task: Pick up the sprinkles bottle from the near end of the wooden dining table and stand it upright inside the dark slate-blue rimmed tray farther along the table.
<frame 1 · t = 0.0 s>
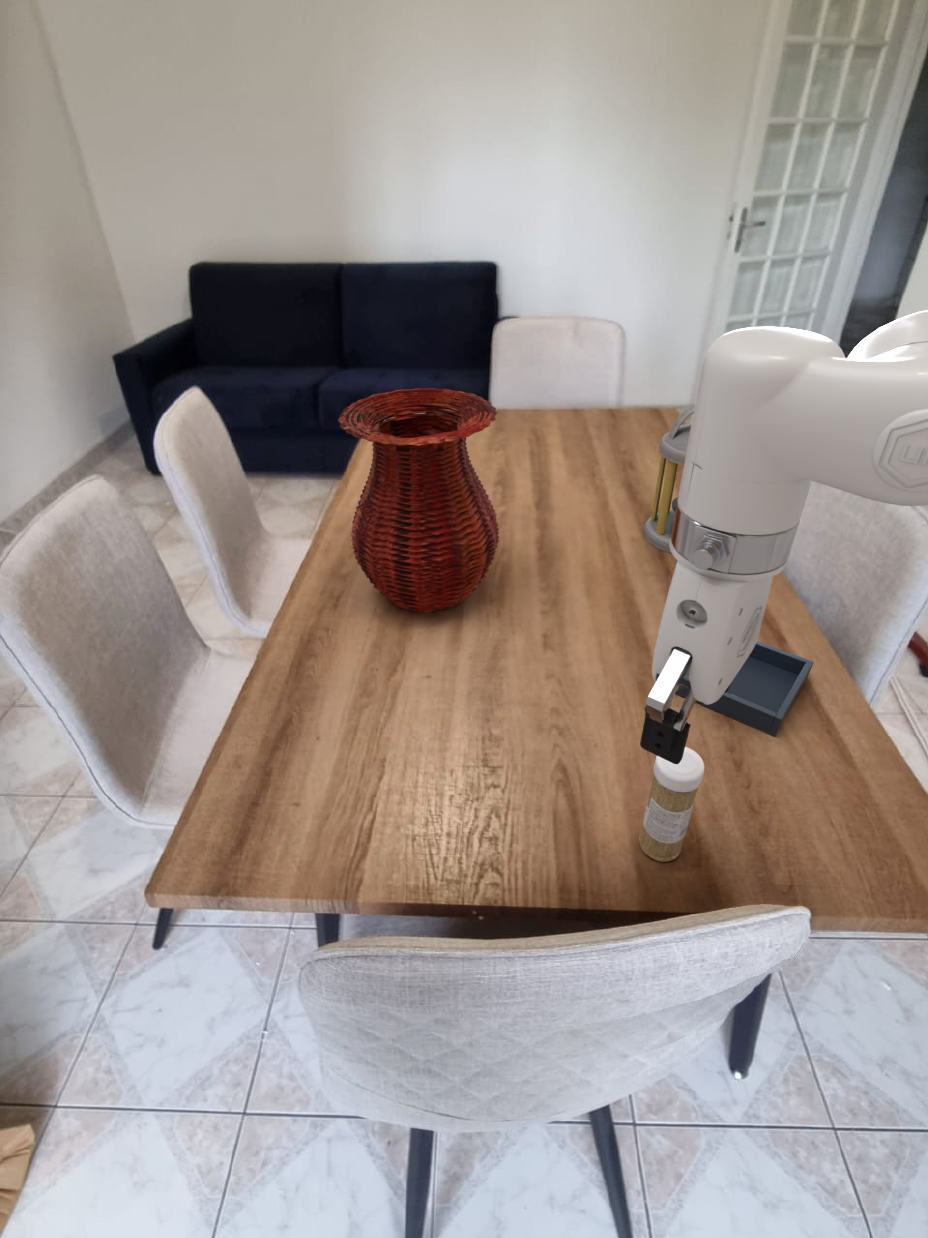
hand: (686, 717, 55), 24 cm above the table, tool pointing down, fingers open, 9 cm apart
sprinkles bottle: (659, 846, 73), on the table
lantern: (682, 536, 125), on the table
vase: (429, 589, 113), on the table
tray: (733, 682, 93), on the table
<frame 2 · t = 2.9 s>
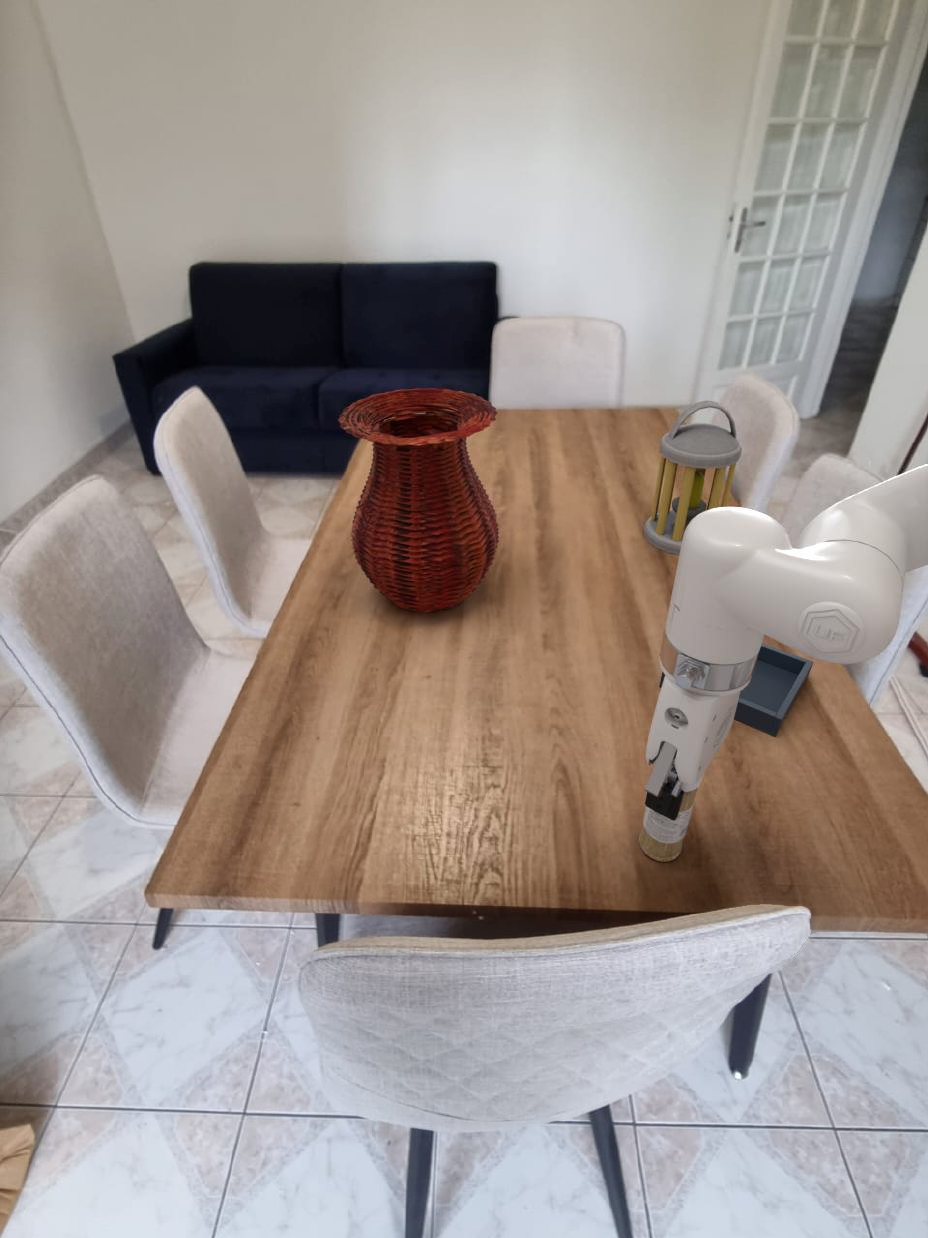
hand: (672, 792, 67), 9 cm above the table, tool pointing down, fingers closed on sprinkles bottle, 4 cm apart
sprinkles bottle: (659, 846, 73), on the table, touching gripper
everything else where it was.
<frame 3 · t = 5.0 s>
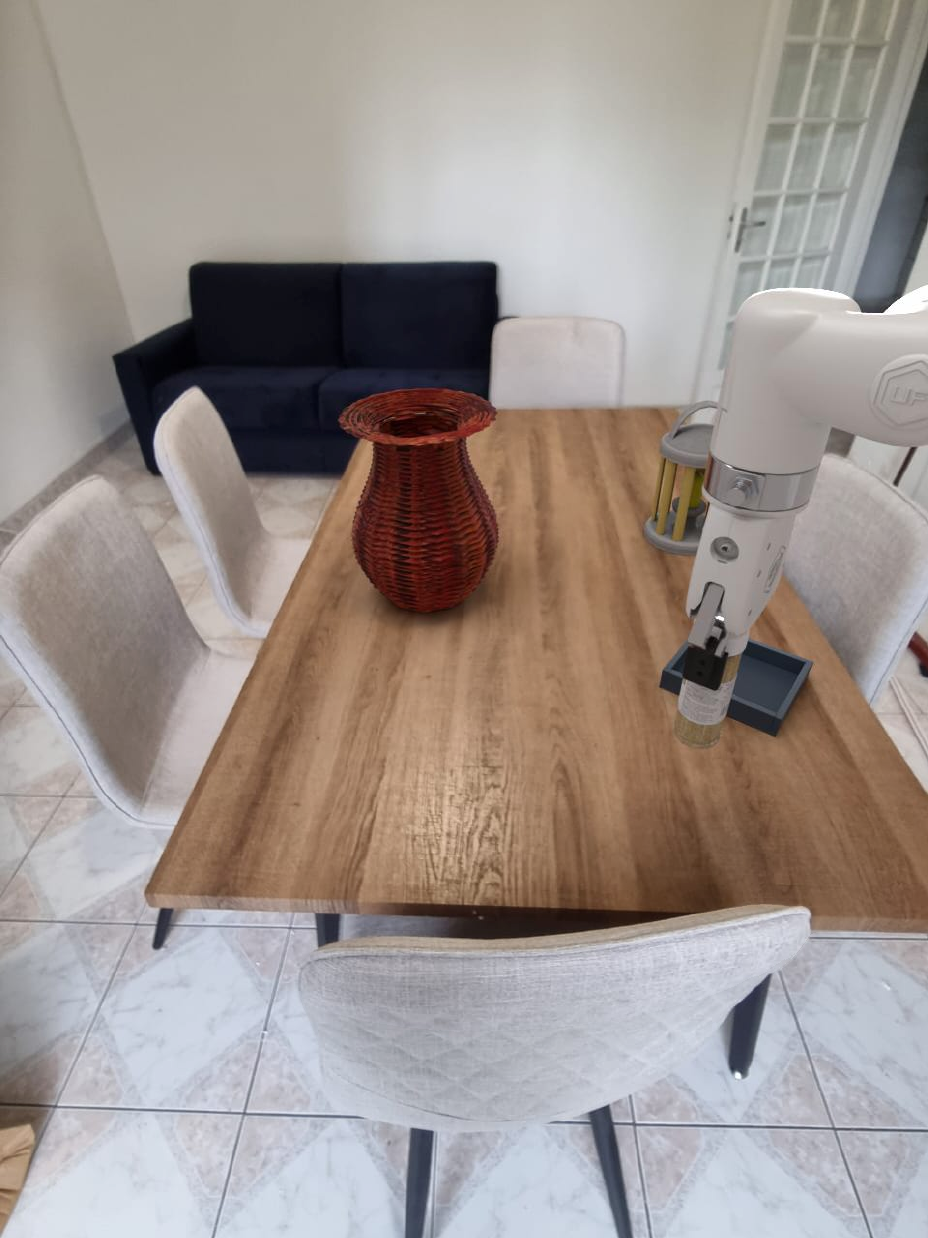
hand: (712, 664, 60), 24 cm above the table, tool pointing down, fingers closed on sprinkles bottle, 4 cm apart
sprinkles bottle: (695, 735, 65), point 15 cm above the table, touching gripper
everything else where it was.
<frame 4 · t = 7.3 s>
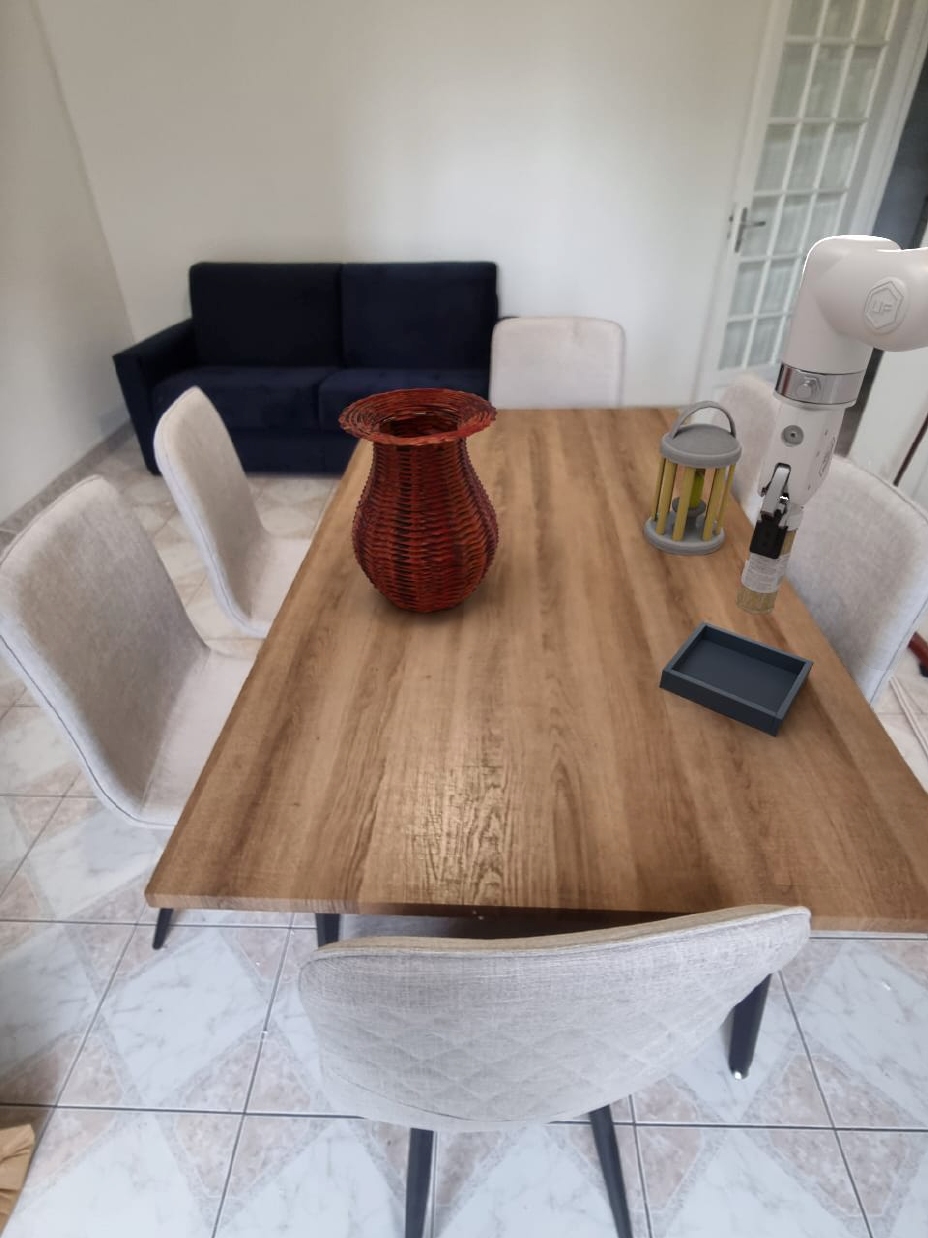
hand: (772, 543, 76), 24 cm above the table, tool pointing down, fingers closed on sprinkles bottle, 4 cm apart
sprinkles bottle: (753, 607, 82), point 15 cm above the table, touching gripper
everything else where it was.
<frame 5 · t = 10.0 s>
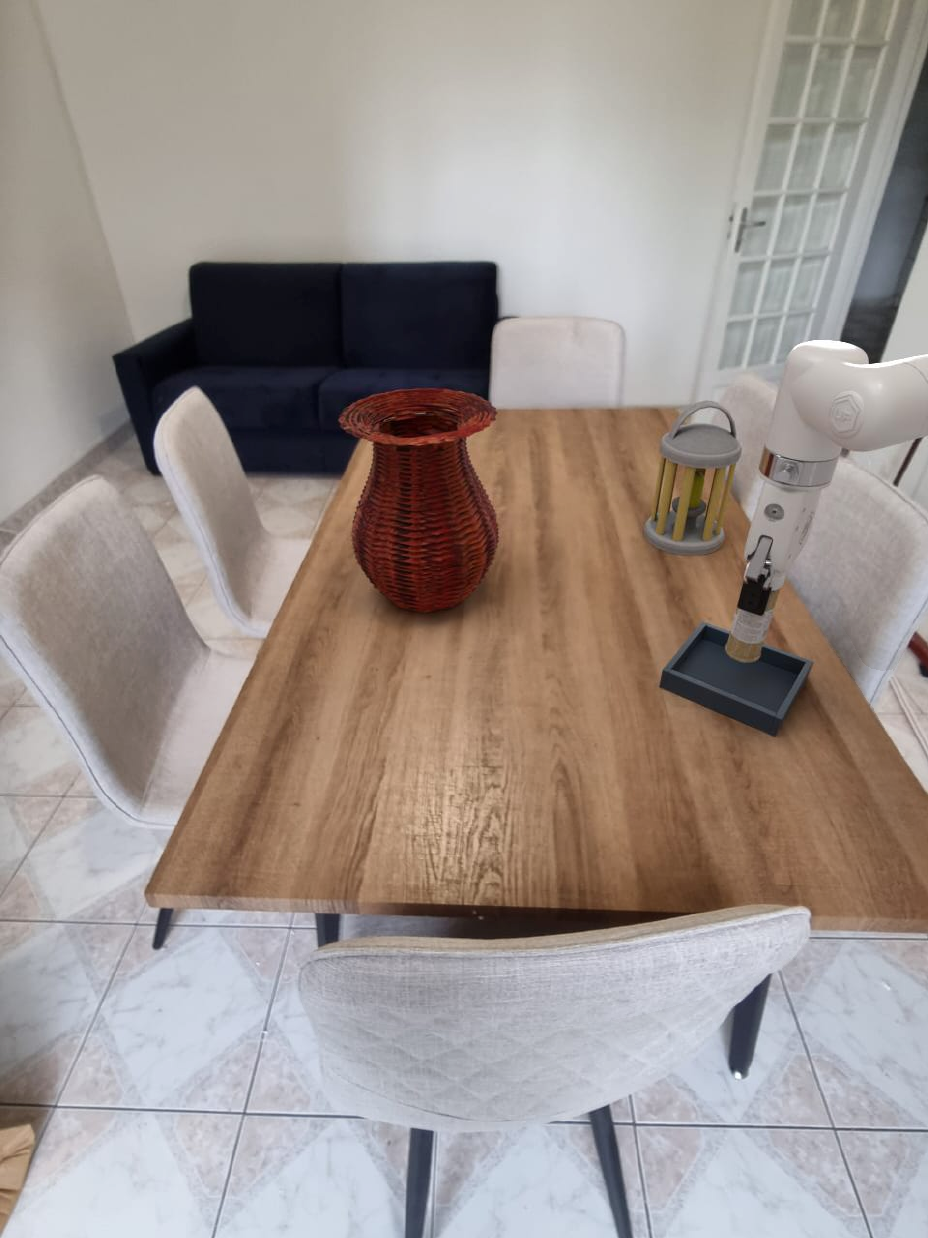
hand: (758, 599, 84), 14 cm above the table, tool pointing down, fingers closed on sprinkles bottle, 4 cm apart
sprinkles bottle: (741, 654, 90), point 5 cm above the table, touching gripper
everything else where it was.
when the fingers open (9 cm above the table, at t = 11.7 s): sprinkles bottle stays where it is, resting on tray.
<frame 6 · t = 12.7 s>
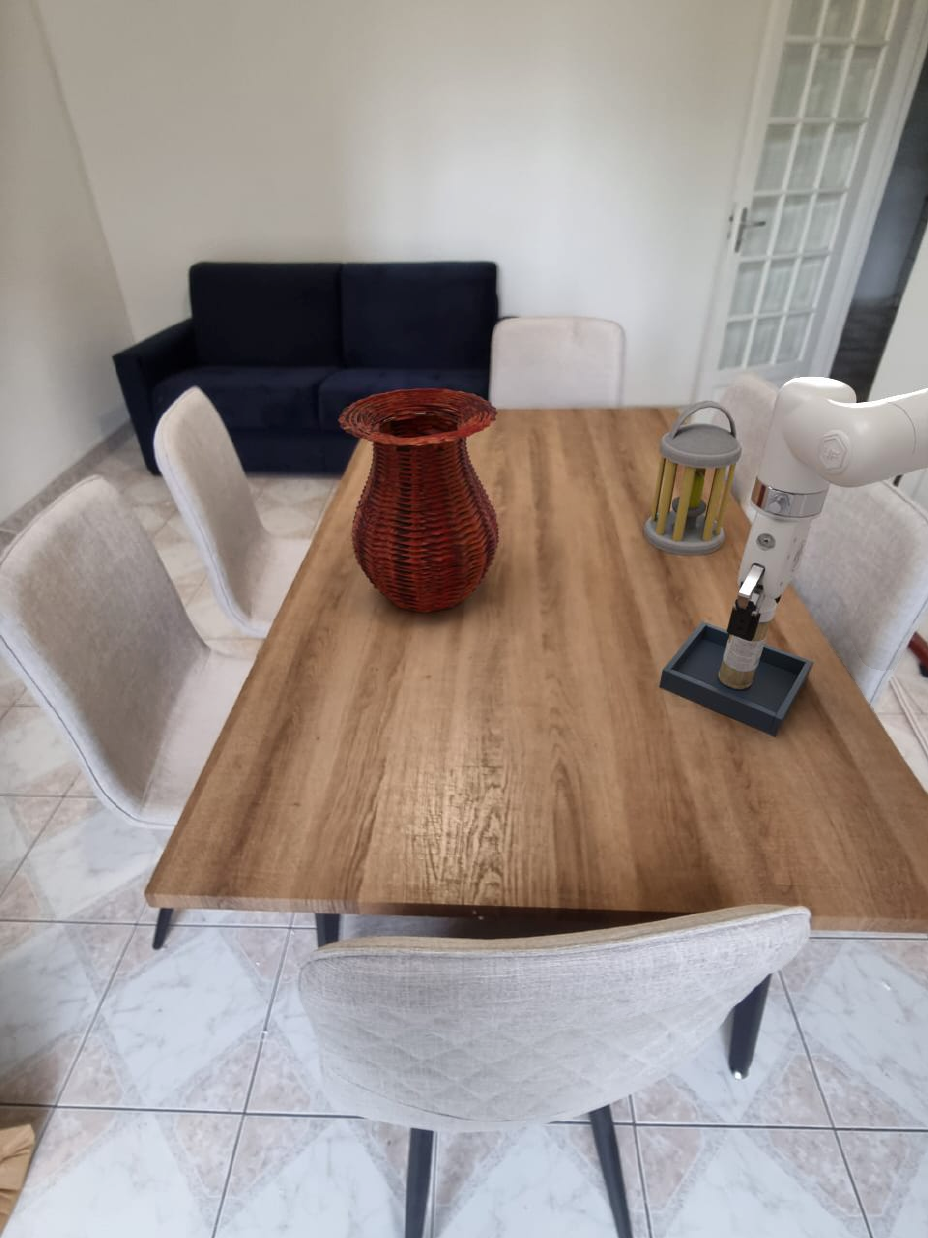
hand: (753, 617, 86), 11 cm above the table, tool pointing down, fingers open, 9 cm apart
sprinkles bottle: (734, 681, 92), resting on tray
everything else where it was.
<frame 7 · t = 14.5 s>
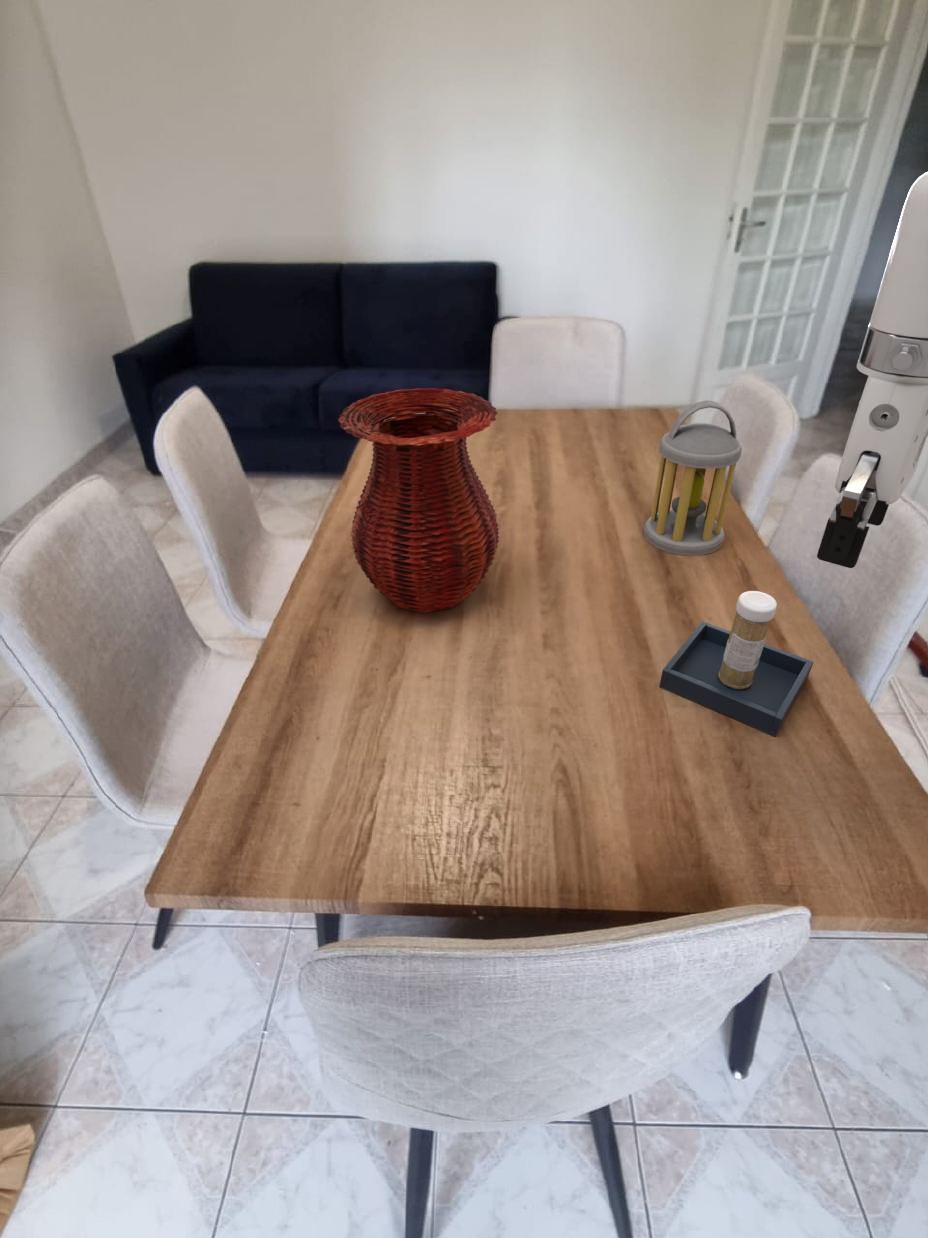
hand: (850, 540, 64), 30 cm above the table, tool pointing down, fingers open, 9 cm apart
nothing on the table moved.
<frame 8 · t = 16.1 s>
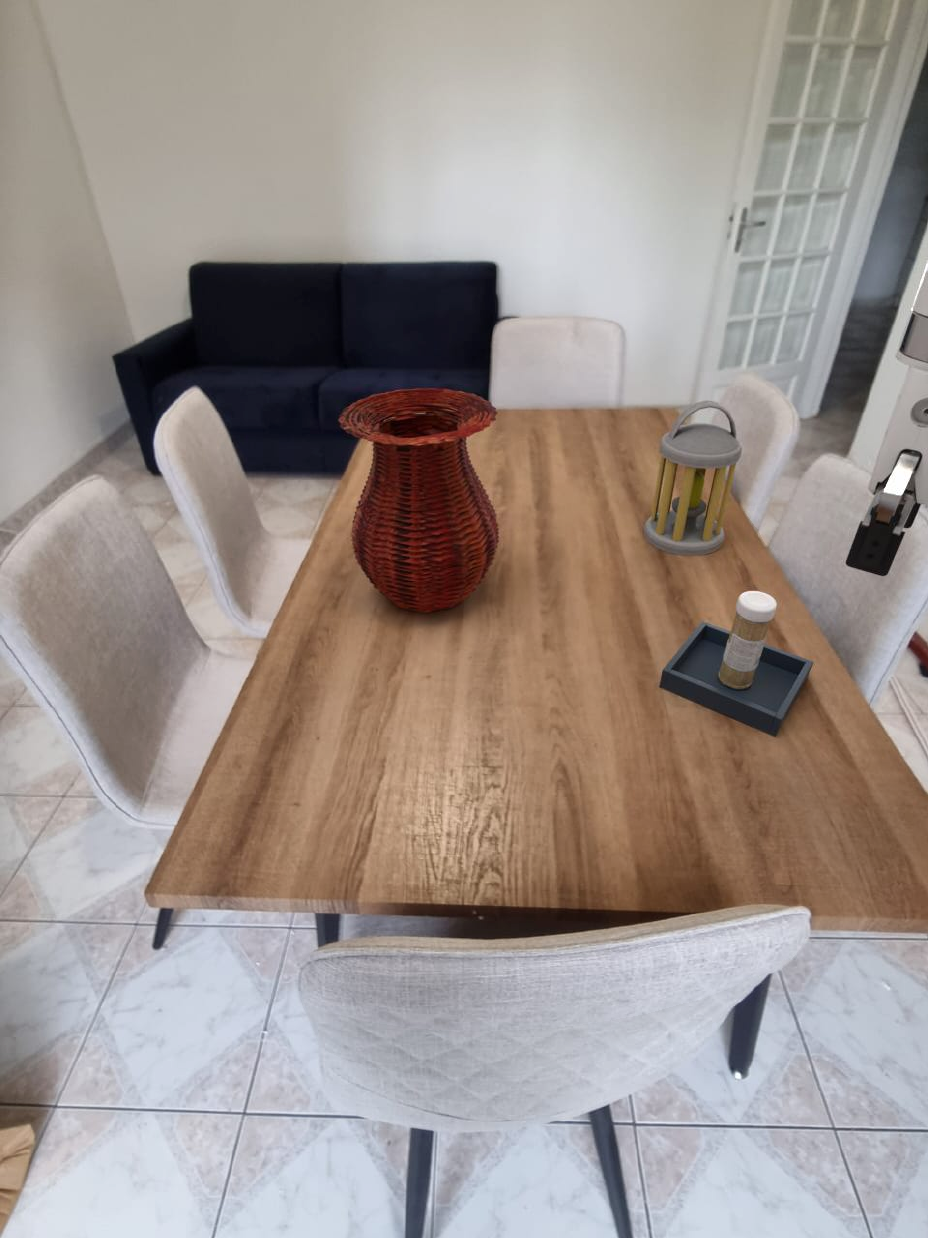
hand: (879, 545, 59), 32 cm above the table, tool pointing down, fingers open, 9 cm apart
nothing on the table moved.
at the end: sprinkles bottle inside the target area in the tray (0.1 cm from its centre), point 0.4 cm above the tray's base; sprinkles bottle tilted 0°; the gripper is holding nothing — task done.
